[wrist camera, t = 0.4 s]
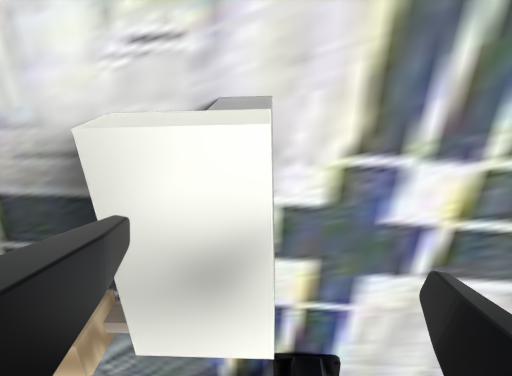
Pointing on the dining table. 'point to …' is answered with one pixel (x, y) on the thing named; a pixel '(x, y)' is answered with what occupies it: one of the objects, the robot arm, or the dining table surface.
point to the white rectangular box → (190, 224)
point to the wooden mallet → (94, 338)
